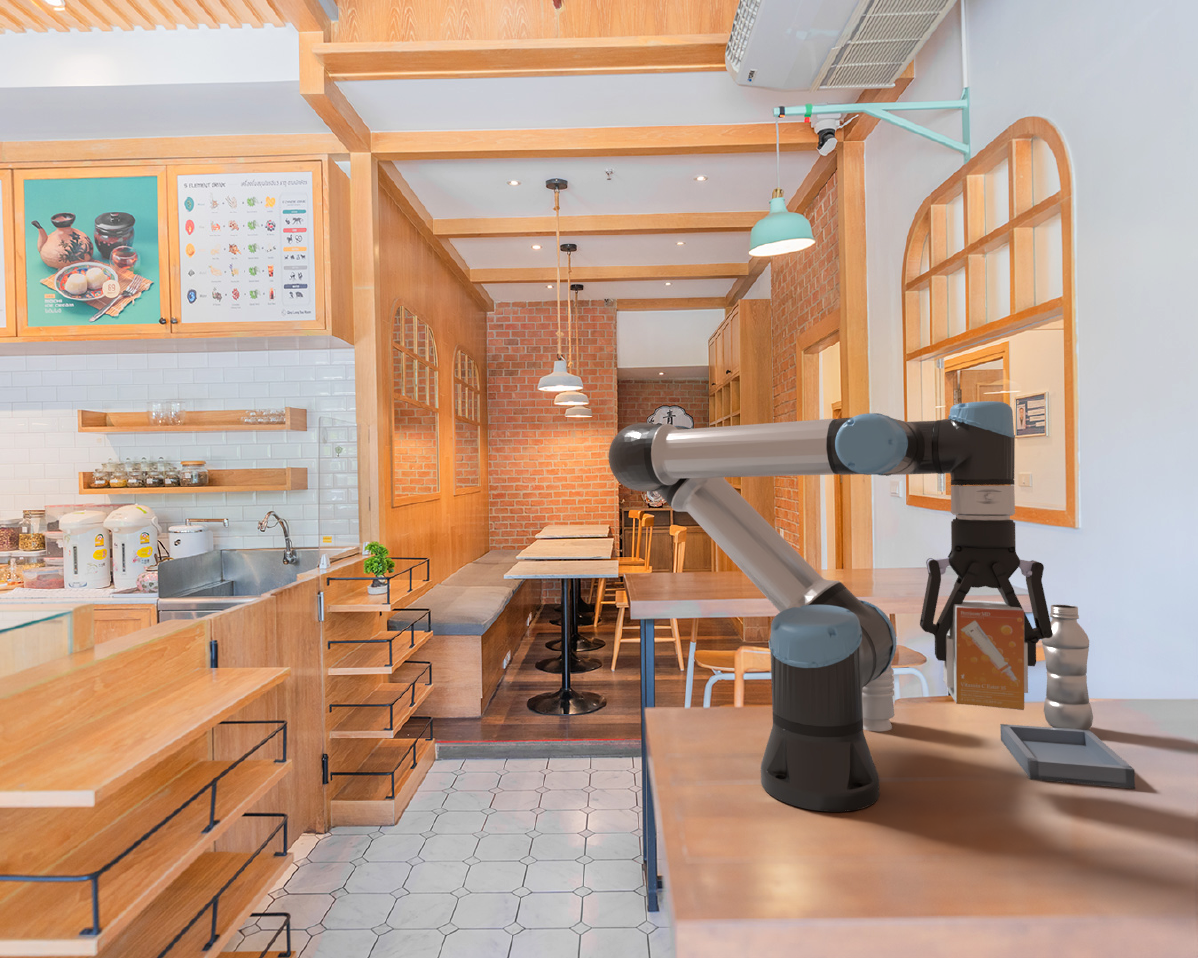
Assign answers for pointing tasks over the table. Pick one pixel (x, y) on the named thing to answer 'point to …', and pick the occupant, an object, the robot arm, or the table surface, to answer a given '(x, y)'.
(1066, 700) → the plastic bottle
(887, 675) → the white bottle
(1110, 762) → the tray
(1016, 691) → the small box
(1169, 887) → the table surface
